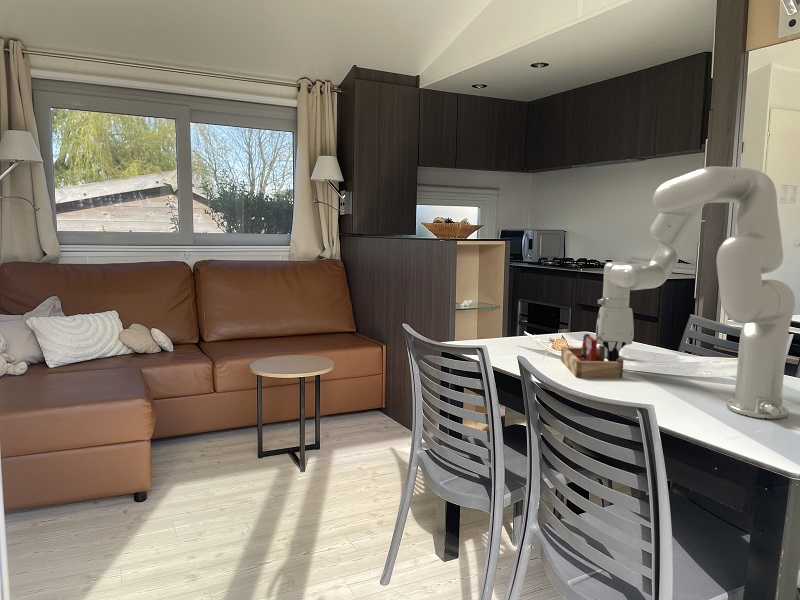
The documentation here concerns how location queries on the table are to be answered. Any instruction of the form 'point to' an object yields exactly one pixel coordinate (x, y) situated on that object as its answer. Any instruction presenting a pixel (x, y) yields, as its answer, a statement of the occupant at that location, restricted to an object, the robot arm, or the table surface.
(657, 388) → the table surface
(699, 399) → the table surface
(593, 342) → the toy fire truck
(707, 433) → the table surface
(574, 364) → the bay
